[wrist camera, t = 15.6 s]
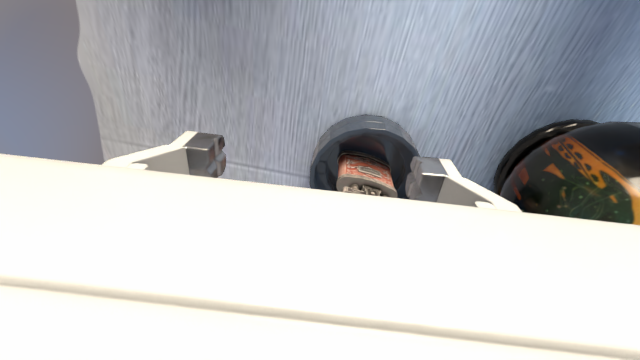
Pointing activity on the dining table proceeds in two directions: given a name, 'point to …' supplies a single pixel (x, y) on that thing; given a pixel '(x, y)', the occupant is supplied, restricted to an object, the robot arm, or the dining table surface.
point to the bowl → (363, 150)
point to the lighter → (364, 175)
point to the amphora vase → (575, 171)
